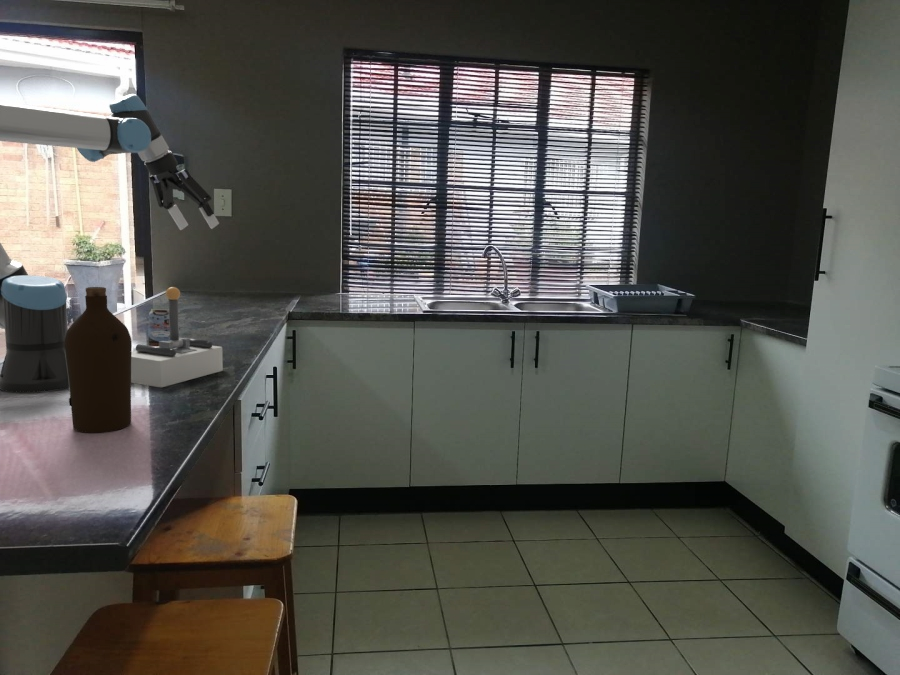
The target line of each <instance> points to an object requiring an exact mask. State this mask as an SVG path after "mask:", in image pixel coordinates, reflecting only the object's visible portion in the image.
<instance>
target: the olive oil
mask: <svg viewBox="0 0 900 675" xmlns="http://www.w3.org/2000/svg"><path fill="white" fill-rule="evenodd" d="M85 293H86V294H85V296H84V298H85V310H84V311H83V312H82V313H81V314H80V316H78V318H76V320H75V321H73V323H72V324H71V325H70V326H69V327H68V330H67V333H66V336H65V340H64V350H65V358H66V366H67V374H68V383H69V387H68V391H69V398H68V403H69V406H70V407H71V408H70V409H71V418H72V427H73V429H74V430H75V431H77V432H79V431H80V432H81V433H86V434H87V433H89V434H96V433H107V432H108V433H109V432H114V431H119V430H122V429H124V428H126V427H129V425H131V423H132V383H131V352H132V351H133V350H132V346H133V344H132V343H133V342H132V337H131V334H130V332H129V329H128V327H127V326H126V325H125V324H124V322H122V321H121V320H120V319H119V318H117V316H115V314H113V313H112V312H111V311H110V309H109V308H108V295H107V294H106V293H107V288H106V287H104V286H88V287H85Z"/></svg>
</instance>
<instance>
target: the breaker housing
mask: <svg viewBox="0 0 900 675" xmlns="http://www.w3.org/2000/svg"><path fill="white" fill-rule="evenodd" d="M179 339H182V340H183V346H182V347H177V348H173V342H168V341H159V346H157V347H156V346H149V345H148V344H140V343H139V344H137V345H136V346H135V350H132V351H131V384H137V385H143V386H150V387H155V388H165V387H169V386H172V385H175V384H179V383H183V382H186V381H189V380H193V379H197V378H200V377H201V378H202V377H204V376H207V375H212V374H215V373H219V372H223V371H224V370H223V369H224V368H223V360H224V359H223V346H219V345H218V346H217V345H213V344H214V343H213V341H211V340H205V339H197V338H189V337H183V336H182V337H180V336H179Z"/></svg>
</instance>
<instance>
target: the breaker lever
mask: <svg viewBox="0 0 900 675" xmlns="http://www.w3.org/2000/svg"><path fill="white" fill-rule="evenodd" d="M165 296H166V299H167V300H168V309H169V329H170V341H168V342H173V348H177V347H182V346H183V340H182V339H179V337H180V334H179V333H180V332H179V331H180V330H179V298H180V296H181V291H180V289H179V288H178V287H176V286H171V287H170V286H169V287H168V288H167V289H166V291H165Z"/></svg>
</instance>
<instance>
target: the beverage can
mask: <svg viewBox="0 0 900 675" xmlns="http://www.w3.org/2000/svg"><path fill="white" fill-rule="evenodd" d="M159 341H170V329H169V308H168V309H167V308H166V309H165V308H151V309H150V311H149V313H148V344H147V345H149V346H156V347H157V346H159Z"/></svg>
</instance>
